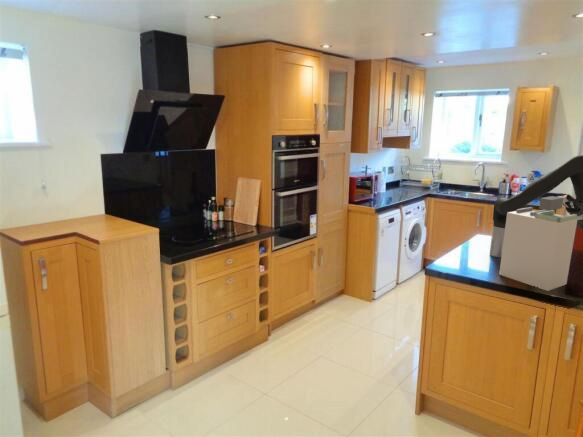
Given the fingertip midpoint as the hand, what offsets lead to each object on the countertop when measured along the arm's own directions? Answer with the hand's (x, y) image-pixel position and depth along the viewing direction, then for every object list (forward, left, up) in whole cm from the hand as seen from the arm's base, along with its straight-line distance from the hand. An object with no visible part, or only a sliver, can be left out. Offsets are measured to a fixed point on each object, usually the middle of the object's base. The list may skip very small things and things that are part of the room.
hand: (564, 195), depth 201 cm
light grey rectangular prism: (-3, -4, -5) cm, 7 cm away
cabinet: (-9, -9, -41) cm, 43 cm away
